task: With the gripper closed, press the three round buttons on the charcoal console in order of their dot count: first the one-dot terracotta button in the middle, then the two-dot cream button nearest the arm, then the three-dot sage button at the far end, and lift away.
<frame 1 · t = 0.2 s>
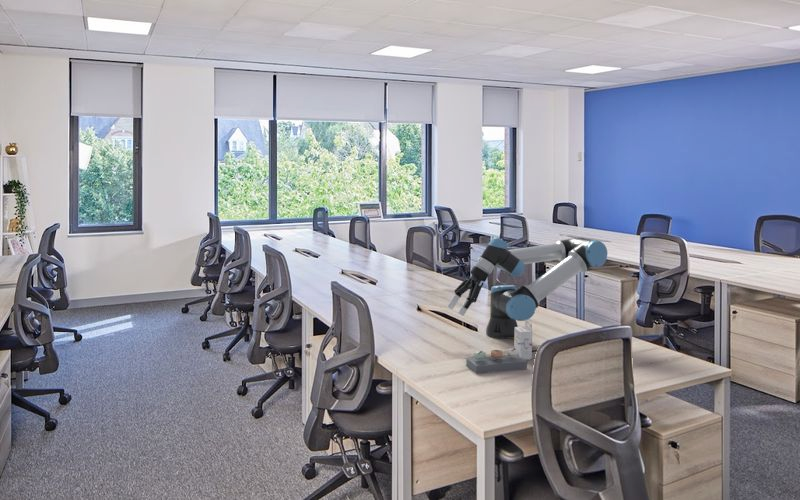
hand: (454, 311, 272), 16 cm above the table, tool tilted 35°, fingers open, 13 cm apart
ink cartridge box: (522, 357, 259), on the table
cream button: (513, 352, 247), point 5 cm above the table, slide at 0.0 cm
terracotta button: (496, 353, 245), point 5 cm above the table, slide at 0.0 cm
console: (496, 367, 246), on the table
sage button: (479, 355, 243), point 5 cm above the table, slide at 0.0 cm
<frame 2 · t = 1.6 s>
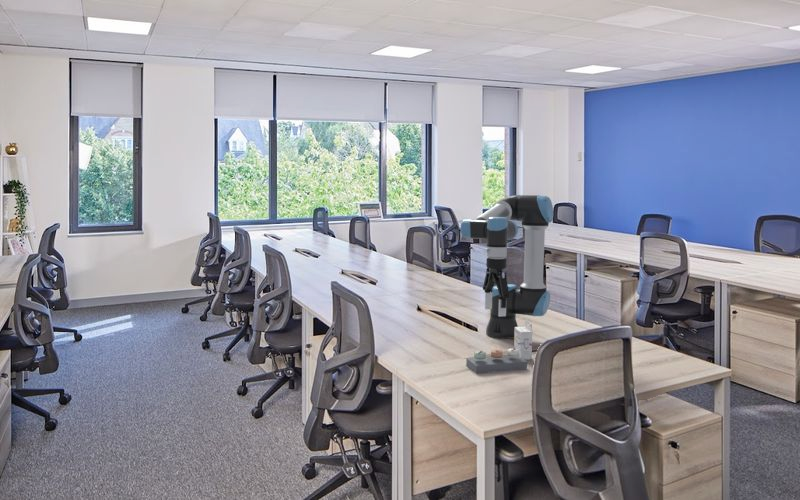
hand: (495, 312, 244), 21 cm above the table, tool pointing down, fingers open, 13 cm apart
nothing on the table moved.
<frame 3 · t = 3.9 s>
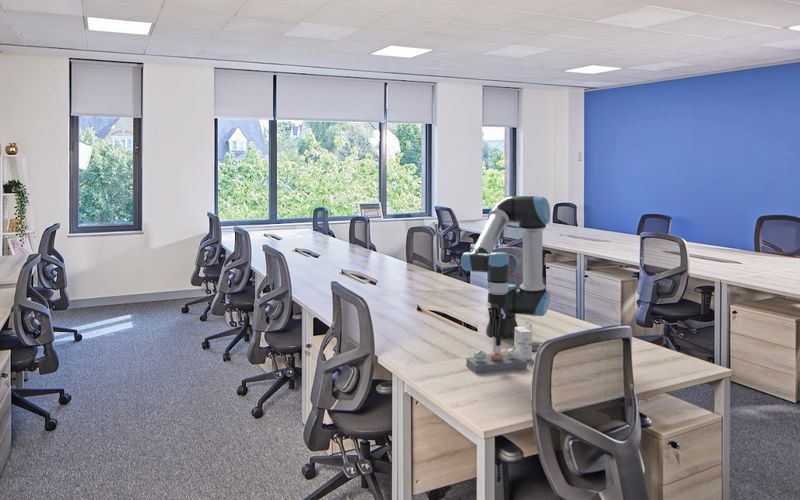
hand: (496, 352, 245), 6 cm above the table, tool pointing down, fingers closed
terracotta button: (496, 356, 245), point 4 cm above the table, slide at 1.0 cm, touching gripper
everything else where it was.
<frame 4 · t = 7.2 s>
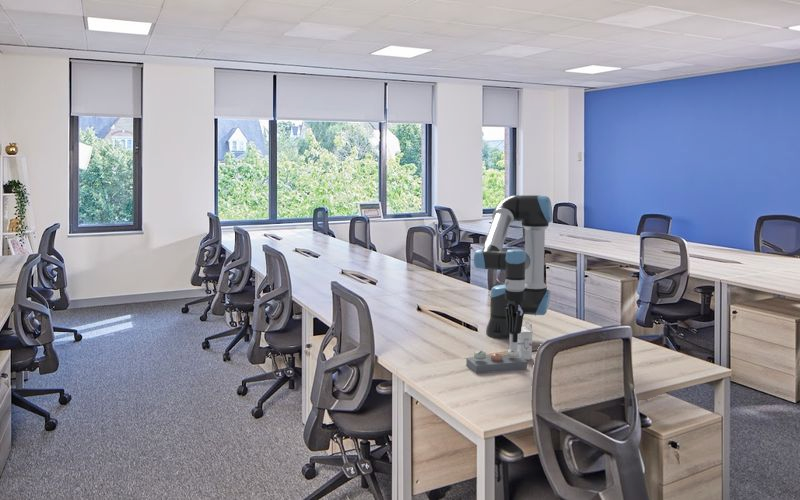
hand: (513, 349, 246), 7 cm above the table, tool pointing down, fingers closed
cream button: (513, 352, 247), point 5 cm above the table, slide at 0.2 cm, touching gripper
terracotta button: (496, 356, 245), point 4 cm above the table, slide at 1.2 cm
everything else where it was.
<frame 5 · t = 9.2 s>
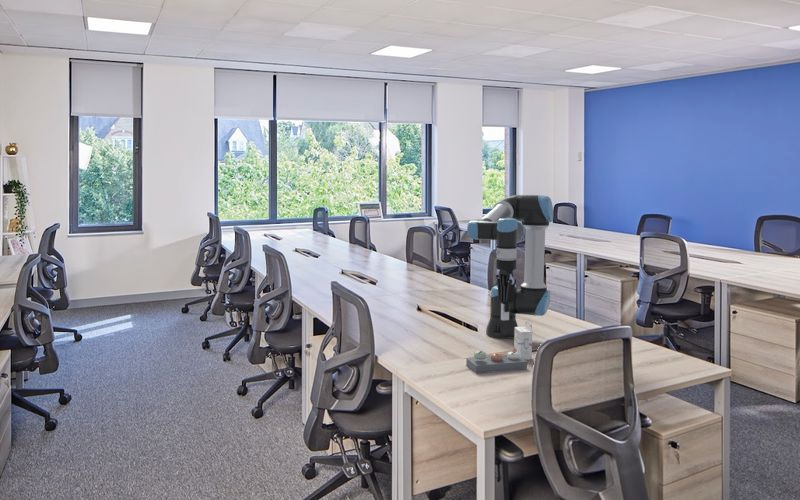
hand: (504, 319, 244), 19 cm above the table, tool pointing down, fingers closed
cream button: (513, 355, 247), point 4 cm above the table, slide at 1.2 cm
everything else where it was.
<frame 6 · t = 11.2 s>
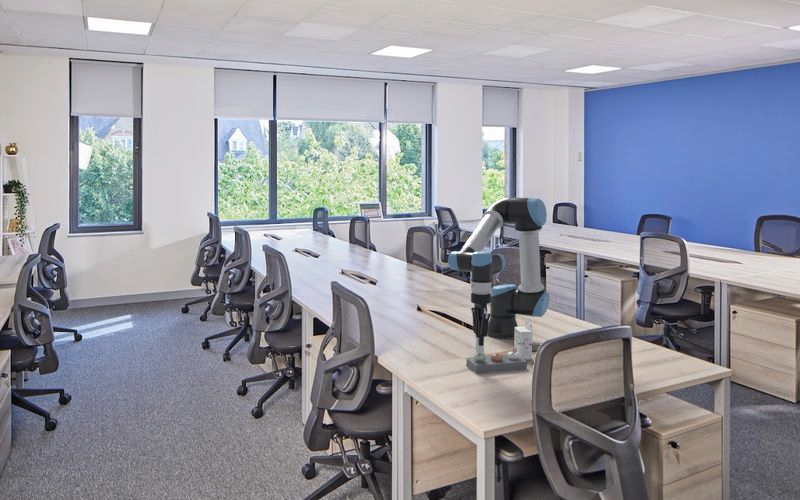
hand: (479, 353, 243), 6 cm above the table, tool pointing down, fingers closed
sage button: (479, 356, 243), point 5 cm above the table, slide at 0.5 cm, touching gripper
everything else where it was.
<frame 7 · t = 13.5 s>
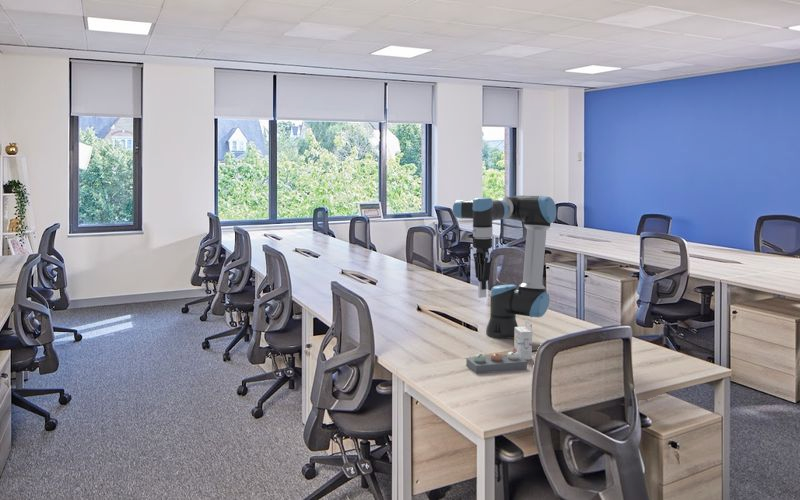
hand: (482, 297, 249), 26 cm above the table, tool pointing down, fingers closed
sage button: (479, 358, 243), point 4 cm above the table, slide at 1.2 cm
everything else where it was.
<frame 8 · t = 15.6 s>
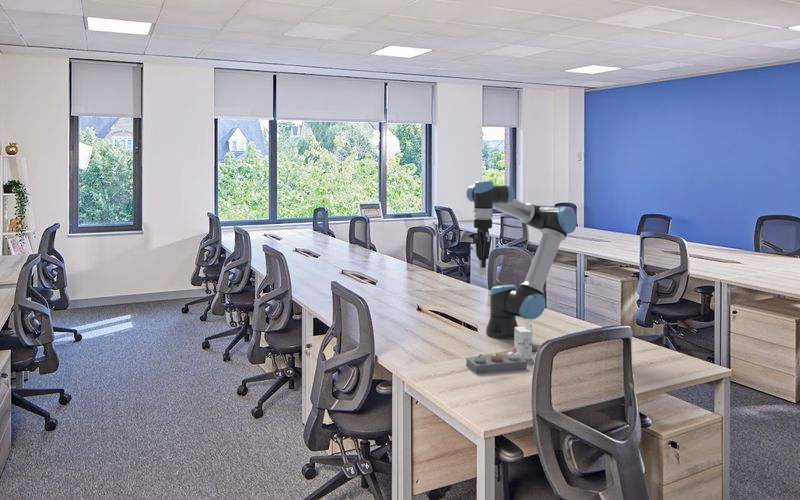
hand: (482, 275, 264), 32 cm above the table, tool pointing down, fingers closed
nothing on the table moved.
at the end: terracotta button slide at 1.2 cm; cream button slide at 1.2 cm; sage button slide at 1.2 cm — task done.
